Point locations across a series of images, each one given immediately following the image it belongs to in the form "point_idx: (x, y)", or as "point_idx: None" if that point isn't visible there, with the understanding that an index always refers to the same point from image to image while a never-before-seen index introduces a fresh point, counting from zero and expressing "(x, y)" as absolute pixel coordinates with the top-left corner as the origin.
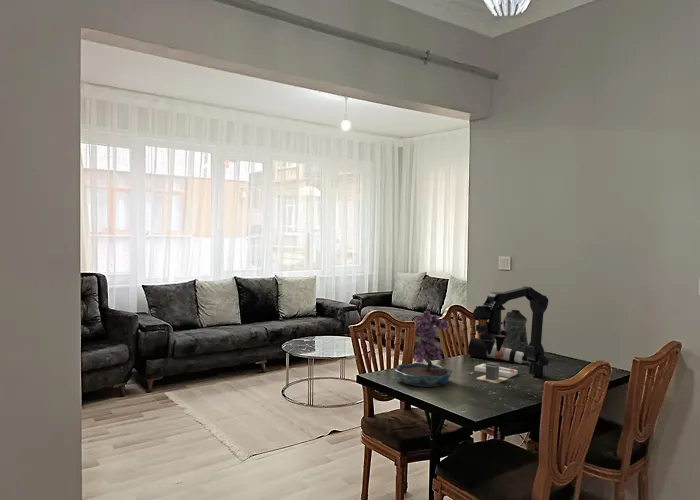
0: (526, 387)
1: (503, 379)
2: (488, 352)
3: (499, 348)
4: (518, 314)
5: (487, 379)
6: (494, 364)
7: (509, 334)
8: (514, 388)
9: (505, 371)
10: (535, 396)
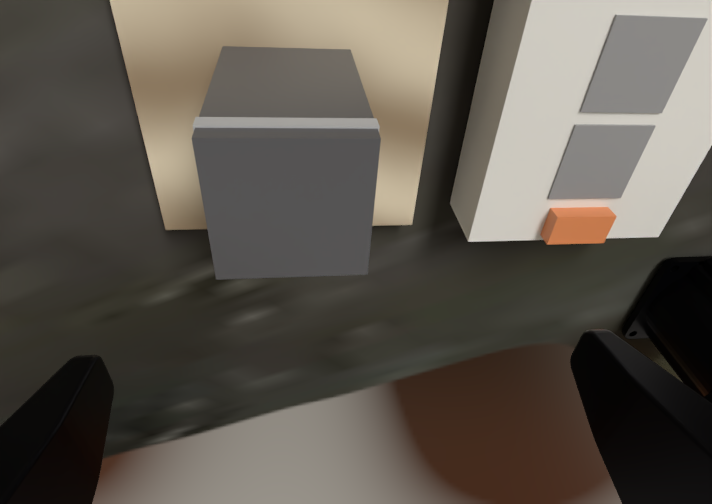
0: (312, 356)
1: None
2: (44, 409)
3: (600, 434)
4: None
5: (196, 89)
6: (254, 258)
7: None
8: (212, 326)
9: (533, 183)
10: (160, 441)
